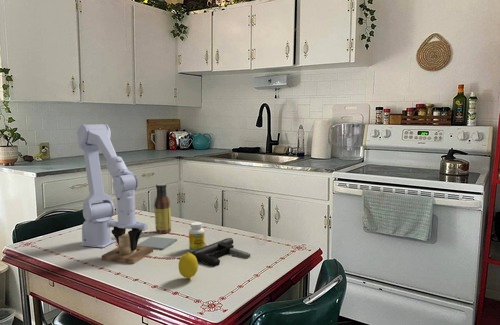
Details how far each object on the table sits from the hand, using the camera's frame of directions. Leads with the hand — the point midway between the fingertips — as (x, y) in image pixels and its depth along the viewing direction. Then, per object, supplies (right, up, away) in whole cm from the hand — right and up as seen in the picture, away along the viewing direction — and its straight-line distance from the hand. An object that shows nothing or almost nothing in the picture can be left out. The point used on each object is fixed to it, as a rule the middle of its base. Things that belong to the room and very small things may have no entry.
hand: (127, 249), depth 135 cm
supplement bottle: (+23, -2, +6) cm, 23 cm away
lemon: (+23, -5, -19) cm, 31 cm away
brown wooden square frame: (0, -2, 0) cm, 2 cm away
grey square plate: (+7, -1, +13) cm, 14 cm away
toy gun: (+33, -3, 0) cm, 33 cm away
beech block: (0, -2, 0) cm, 2 cm away
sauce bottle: (+6, +1, +28) cm, 28 cm away
